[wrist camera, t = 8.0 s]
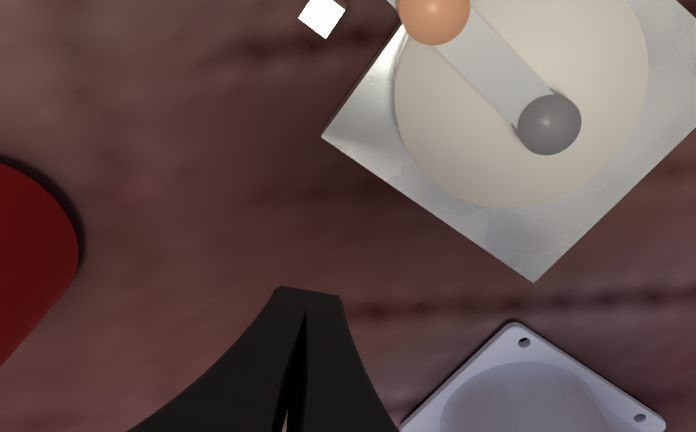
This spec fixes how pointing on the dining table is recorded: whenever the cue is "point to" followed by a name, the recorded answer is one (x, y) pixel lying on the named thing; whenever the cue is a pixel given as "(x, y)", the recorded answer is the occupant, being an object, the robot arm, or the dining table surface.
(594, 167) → the white lever switch
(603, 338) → the dining table surface
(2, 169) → the beverage can
